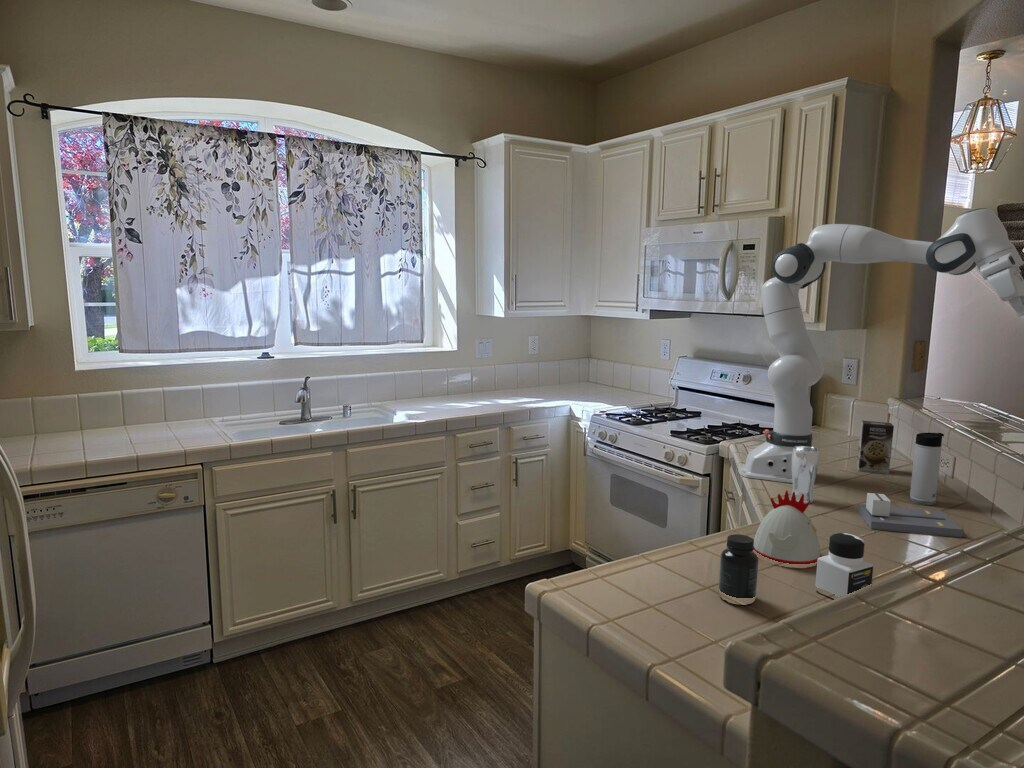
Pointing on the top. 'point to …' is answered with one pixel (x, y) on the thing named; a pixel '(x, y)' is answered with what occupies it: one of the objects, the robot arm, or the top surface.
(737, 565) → the supplement bottle
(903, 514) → the fader panel
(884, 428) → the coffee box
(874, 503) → the fader knob
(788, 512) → the kitchen timer
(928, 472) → the travel mug
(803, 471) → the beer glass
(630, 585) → the top surface
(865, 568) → the medicine bottle
